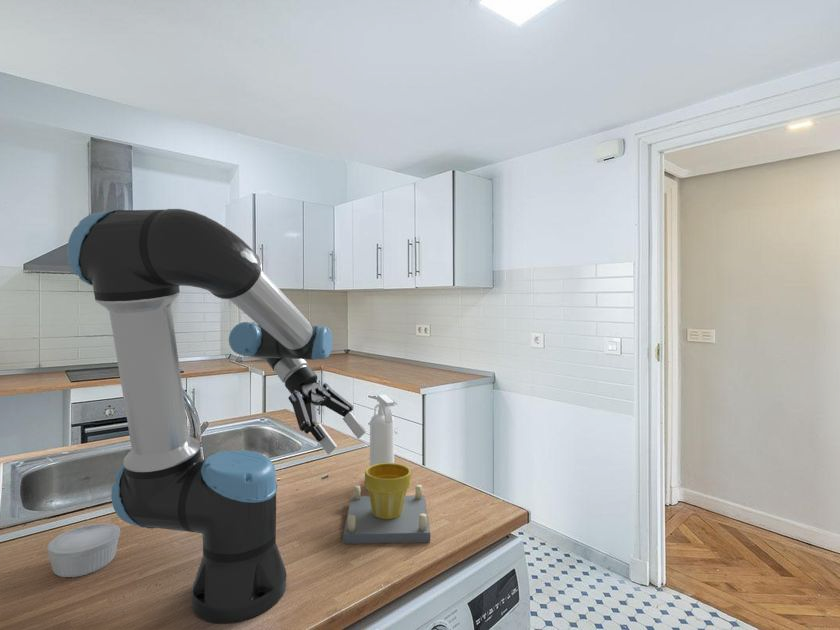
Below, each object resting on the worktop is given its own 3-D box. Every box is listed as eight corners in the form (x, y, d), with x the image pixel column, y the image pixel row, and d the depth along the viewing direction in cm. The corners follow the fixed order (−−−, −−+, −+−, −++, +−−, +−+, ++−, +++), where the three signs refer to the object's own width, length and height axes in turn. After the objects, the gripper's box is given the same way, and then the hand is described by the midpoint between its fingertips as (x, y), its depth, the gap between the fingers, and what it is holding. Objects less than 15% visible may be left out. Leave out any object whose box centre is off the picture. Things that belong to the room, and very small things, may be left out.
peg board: (430, 542, 96) (430, 518, 96) (343, 543, 95) (343, 520, 94) (424, 503, 114) (424, 483, 113) (351, 504, 113) (351, 484, 112)
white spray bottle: (384, 474, 131) (384, 388, 129) (401, 492, 120) (401, 399, 118) (362, 478, 128) (361, 391, 126) (377, 497, 118) (376, 402, 116)
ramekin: (109, 541, 95) (109, 516, 94) (129, 562, 87) (129, 535, 87) (40, 565, 86) (40, 538, 86) (56, 590, 79) (55, 560, 79)
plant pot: (404, 500, 111) (404, 460, 110) (415, 520, 101) (415, 476, 100) (361, 505, 108) (361, 464, 107) (368, 526, 98) (369, 481, 98)
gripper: (316, 378, 126) (363, 438, 121) (252, 392, 103) (307, 468, 98) (333, 360, 124) (381, 420, 119) (271, 370, 101) (329, 446, 96)
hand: (348, 442), depth 108 cm, fingers open, 13 cm apart
